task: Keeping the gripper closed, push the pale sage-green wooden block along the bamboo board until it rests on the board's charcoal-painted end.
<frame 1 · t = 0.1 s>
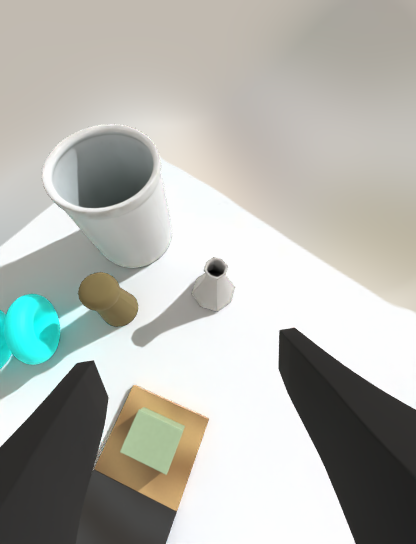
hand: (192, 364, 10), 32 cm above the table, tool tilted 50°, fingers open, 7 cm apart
board: (139, 478, 34), on the table
flask: (213, 291, 45), on the table
turquoise spool: (32, 338, 41), on the table
utensil holder: (135, 235, 49), on the table
sage block: (156, 435, 36), point 1 cm above the table, touching board
cork: (120, 309, 43), on the table
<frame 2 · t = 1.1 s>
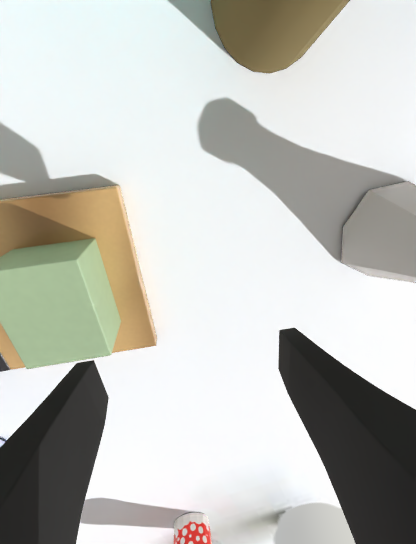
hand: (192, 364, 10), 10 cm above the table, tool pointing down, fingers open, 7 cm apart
flask: (381, 230, 20), on the table
sage block: (71, 288, 17), point 1 cm above the table, touching board
beverage cup: (191, 519, 35), on the table
cork: (268, 1, 13), on the table
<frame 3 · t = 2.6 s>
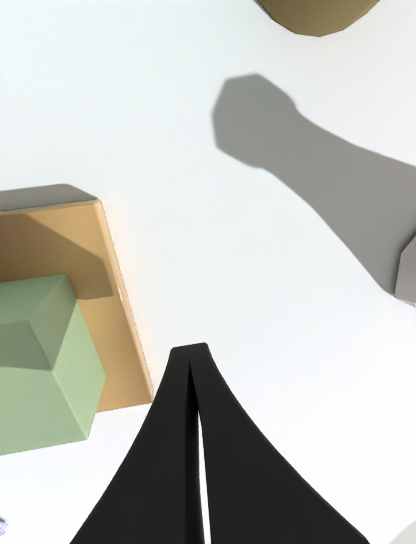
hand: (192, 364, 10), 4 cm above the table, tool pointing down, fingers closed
sage block: (37, 338, 13), point 1 cm above the table, touching board
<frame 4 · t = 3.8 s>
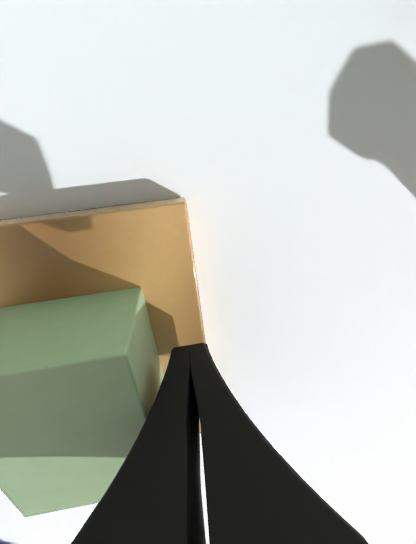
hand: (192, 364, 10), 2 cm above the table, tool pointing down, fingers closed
sage block: (98, 361, 11), point 1 cm above the table, touching board, gripper
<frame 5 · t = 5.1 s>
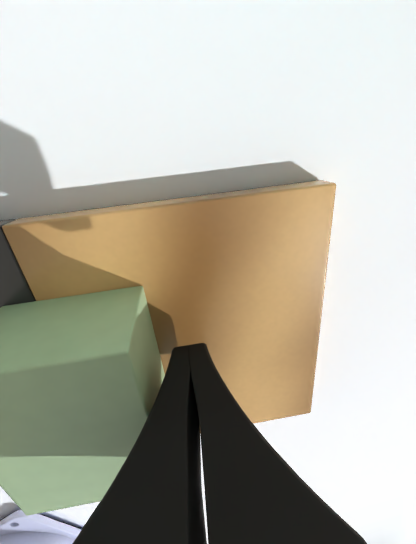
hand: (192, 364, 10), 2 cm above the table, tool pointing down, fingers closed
board: (97, 346, 12), on the table
sage block: (99, 360, 11), point 1 cm above the table, touching gripper
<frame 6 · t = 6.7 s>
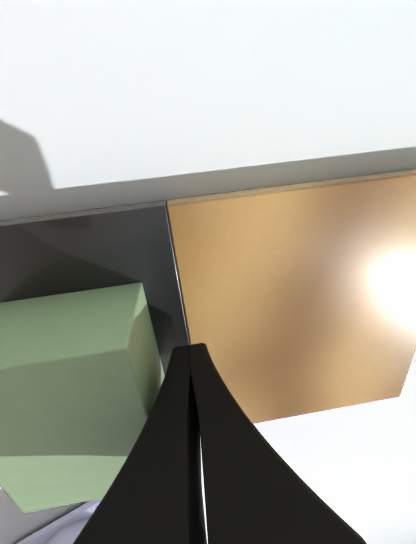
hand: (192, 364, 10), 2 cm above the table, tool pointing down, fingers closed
board: (210, 328, 12), on the table
sage block: (97, 357, 11), point 1 cm above the table, touching board, gripper
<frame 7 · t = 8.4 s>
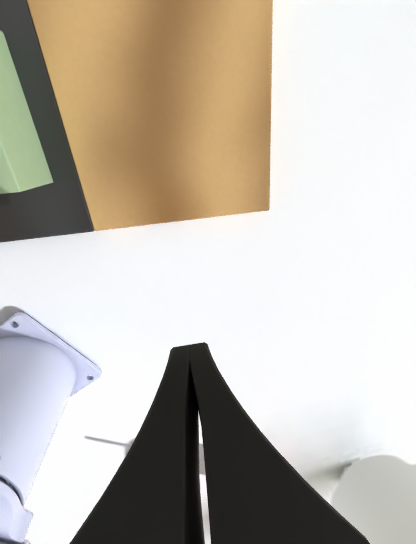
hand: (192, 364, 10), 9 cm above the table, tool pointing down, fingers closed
board: (86, 117, 14), on the table
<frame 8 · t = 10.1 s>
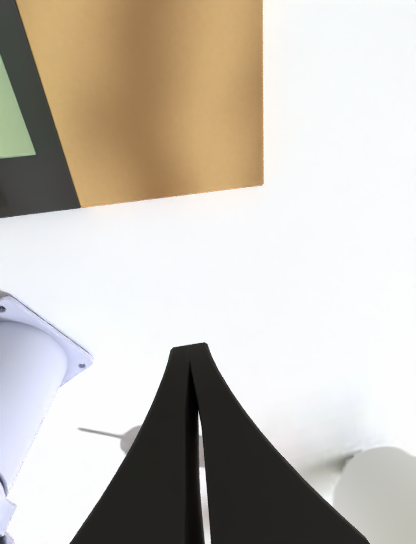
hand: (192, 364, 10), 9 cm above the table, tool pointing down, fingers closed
board: (69, 85, 13), on the table
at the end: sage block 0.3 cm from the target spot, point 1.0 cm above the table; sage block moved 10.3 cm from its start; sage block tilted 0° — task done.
